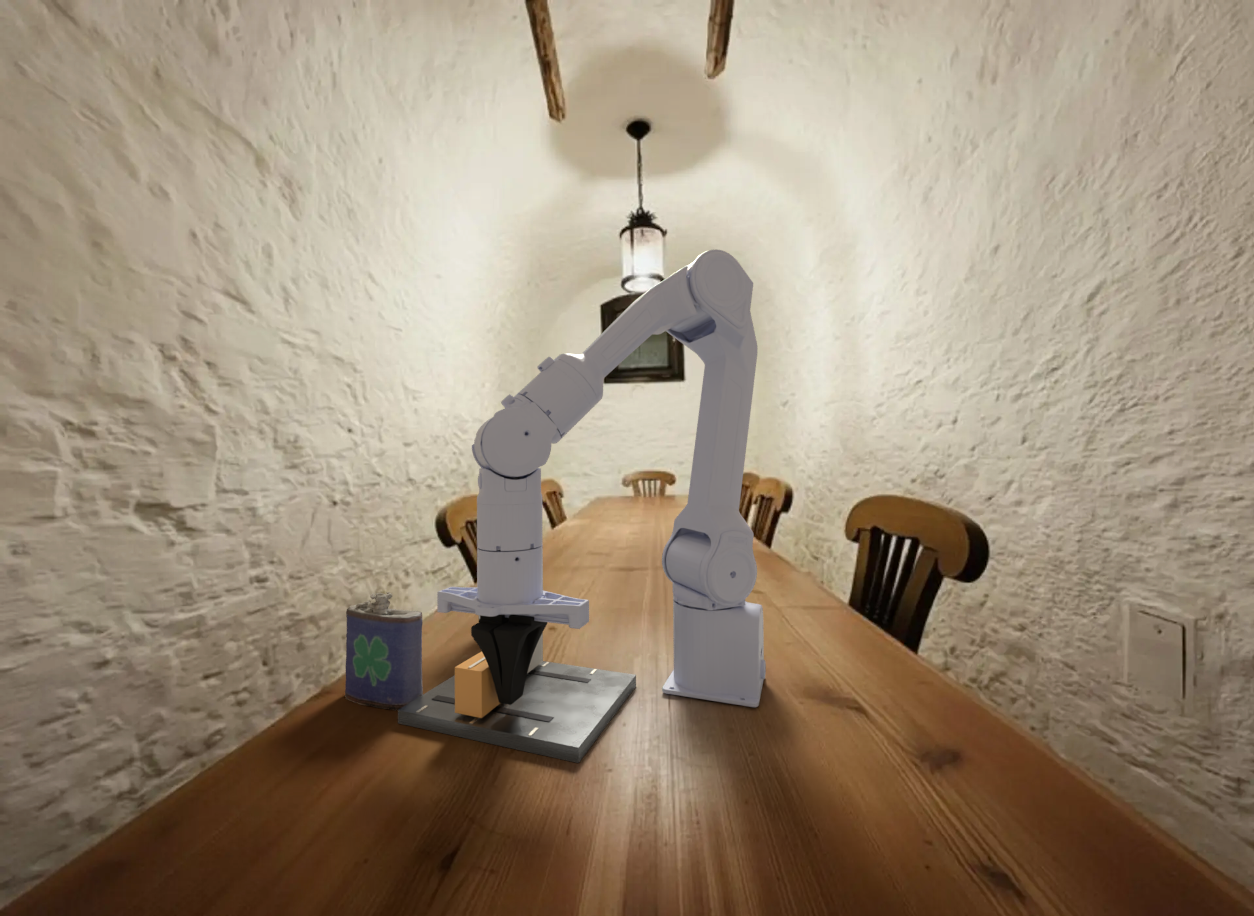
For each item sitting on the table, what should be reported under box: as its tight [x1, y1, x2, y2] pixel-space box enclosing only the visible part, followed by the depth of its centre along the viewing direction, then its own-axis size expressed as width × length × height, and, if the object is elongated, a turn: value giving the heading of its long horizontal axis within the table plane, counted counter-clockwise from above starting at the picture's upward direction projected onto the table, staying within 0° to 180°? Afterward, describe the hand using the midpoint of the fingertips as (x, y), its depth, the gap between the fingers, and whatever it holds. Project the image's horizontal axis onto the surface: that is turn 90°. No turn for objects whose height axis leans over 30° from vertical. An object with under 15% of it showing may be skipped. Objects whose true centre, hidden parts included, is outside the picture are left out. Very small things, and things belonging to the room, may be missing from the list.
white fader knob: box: [527, 632, 544, 673], centre depth 53 cm, size 3×4×4 cm, turn 160°
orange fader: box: [454, 650, 500, 718], centre depth 45 cm, size 3×4×4 cm, turn 160°
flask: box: [344, 591, 424, 712], centre depth 49 cm, size 9×3×11 cm, turn 68°
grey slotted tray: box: [397, 660, 637, 764], centre depth 48 cm, size 18×14×1 cm
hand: (510, 698), depth 44 cm, fingers closed
